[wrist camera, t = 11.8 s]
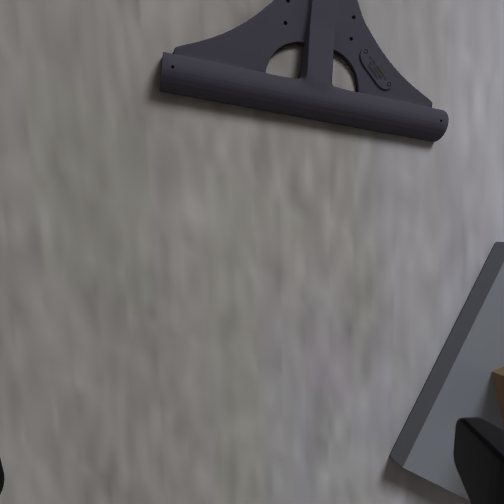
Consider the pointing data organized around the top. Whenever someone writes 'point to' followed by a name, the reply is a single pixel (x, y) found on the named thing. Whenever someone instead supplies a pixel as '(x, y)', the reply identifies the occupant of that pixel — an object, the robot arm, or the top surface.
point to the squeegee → (305, 70)
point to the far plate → (459, 383)
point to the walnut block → (499, 388)
